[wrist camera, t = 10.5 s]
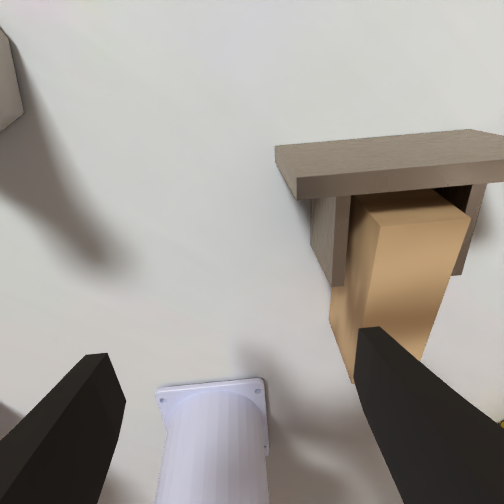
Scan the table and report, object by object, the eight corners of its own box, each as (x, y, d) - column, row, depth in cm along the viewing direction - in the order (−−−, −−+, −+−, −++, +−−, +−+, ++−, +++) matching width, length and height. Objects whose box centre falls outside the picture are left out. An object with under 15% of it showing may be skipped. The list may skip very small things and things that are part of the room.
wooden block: (342, 179, 16) (380, 226, 12) (411, 173, 16) (471, 218, 12) (328, 320, 22) (351, 383, 18) (379, 315, 22) (413, 377, 18)
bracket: (445, 232, 19) (528, 290, 14) (278, 247, 19) (297, 312, 14) (470, 129, 16) (585, 152, 11) (274, 146, 16) (296, 177, 11)
